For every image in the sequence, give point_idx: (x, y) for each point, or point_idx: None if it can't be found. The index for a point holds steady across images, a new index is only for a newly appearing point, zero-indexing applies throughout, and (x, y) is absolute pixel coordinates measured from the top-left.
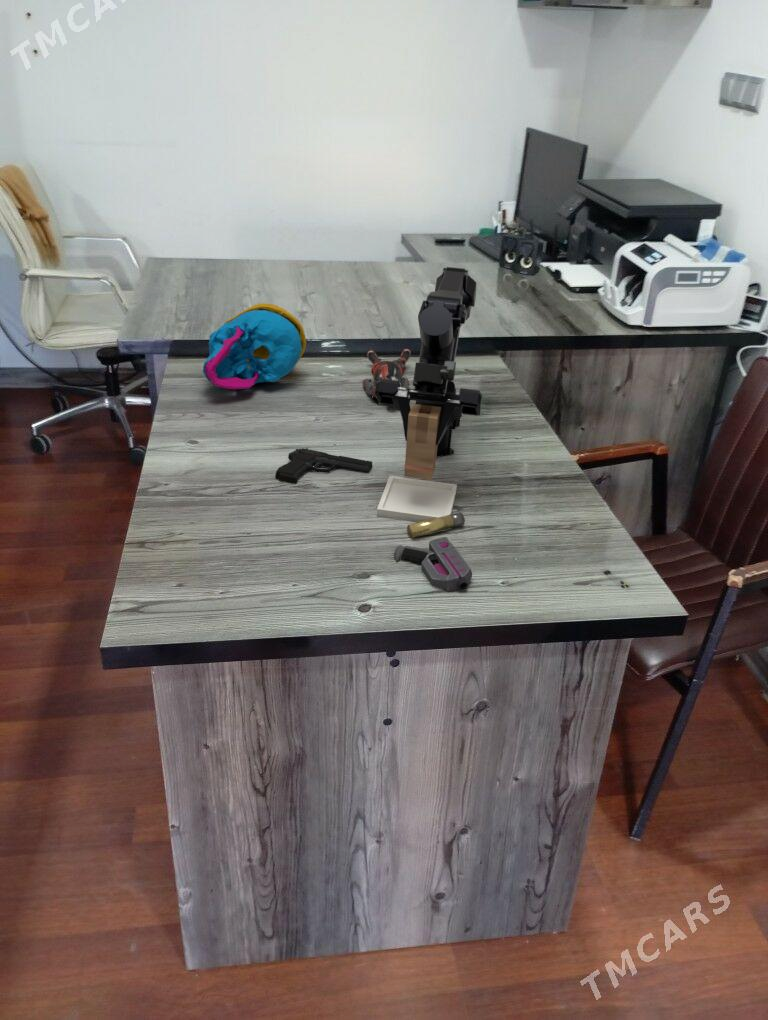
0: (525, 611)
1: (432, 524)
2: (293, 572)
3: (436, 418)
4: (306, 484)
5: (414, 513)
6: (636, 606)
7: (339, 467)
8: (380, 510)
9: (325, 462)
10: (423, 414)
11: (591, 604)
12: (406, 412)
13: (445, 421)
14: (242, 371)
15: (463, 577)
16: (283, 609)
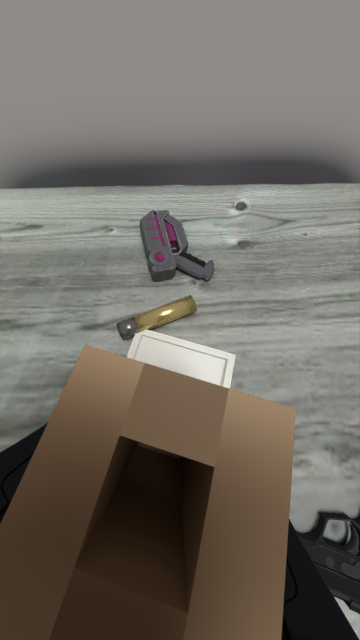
0: (106, 197)
1: (164, 306)
2: (310, 251)
3: (89, 348)
4: (347, 460)
5: (183, 341)
6: (3, 198)
7: (306, 536)
8: (230, 353)
9: (341, 551)
10: (174, 428)
11: (43, 201)
12: (288, 578)
13: (29, 446)
14: None
15: (151, 212)
16: (307, 207)
